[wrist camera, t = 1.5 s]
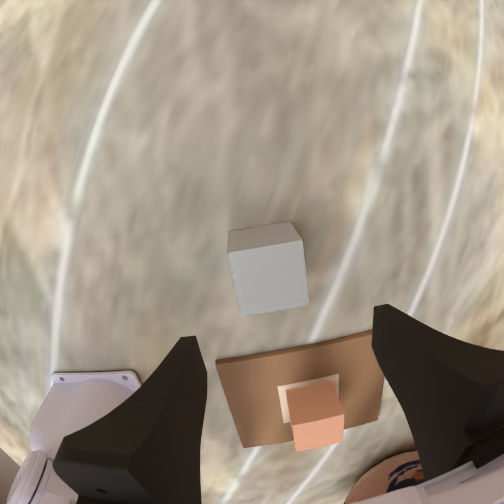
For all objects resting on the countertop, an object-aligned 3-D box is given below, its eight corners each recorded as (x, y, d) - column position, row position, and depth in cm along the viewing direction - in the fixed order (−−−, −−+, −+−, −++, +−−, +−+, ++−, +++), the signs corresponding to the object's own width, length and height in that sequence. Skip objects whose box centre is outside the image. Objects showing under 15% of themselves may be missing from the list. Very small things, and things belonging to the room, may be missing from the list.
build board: (243, 444, 28) (243, 448, 27) (215, 360, 24) (215, 365, 23) (376, 416, 28) (377, 420, 27) (386, 326, 24) (389, 330, 23)
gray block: (239, 286, 22) (241, 317, 18) (228, 231, 20) (227, 253, 17) (296, 276, 22) (309, 305, 18) (289, 220, 20) (302, 239, 17)
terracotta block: (289, 418, 26) (296, 451, 22) (285, 390, 25) (292, 425, 21) (332, 409, 26) (342, 441, 22) (331, 380, 25) (344, 414, 21)
